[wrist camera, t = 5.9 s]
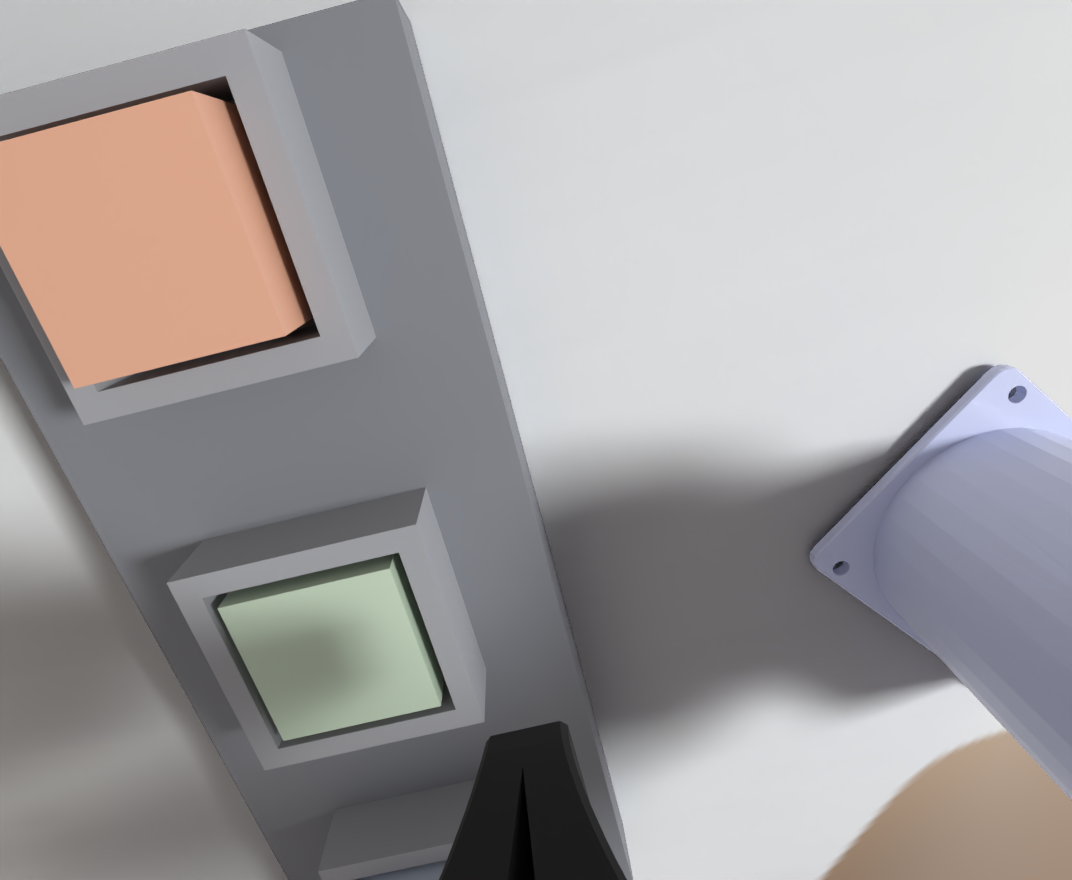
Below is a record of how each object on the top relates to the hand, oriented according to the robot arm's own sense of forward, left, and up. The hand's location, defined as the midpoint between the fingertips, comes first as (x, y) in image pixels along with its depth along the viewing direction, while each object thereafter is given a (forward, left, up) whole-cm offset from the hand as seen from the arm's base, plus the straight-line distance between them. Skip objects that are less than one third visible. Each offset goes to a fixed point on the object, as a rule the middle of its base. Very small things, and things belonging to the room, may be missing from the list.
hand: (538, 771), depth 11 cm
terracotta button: (+11, -2, -6) cm, 12 cm away
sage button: (+3, +4, -7) cm, 8 cm away
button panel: (+3, +4, -9) cm, 11 cm away
